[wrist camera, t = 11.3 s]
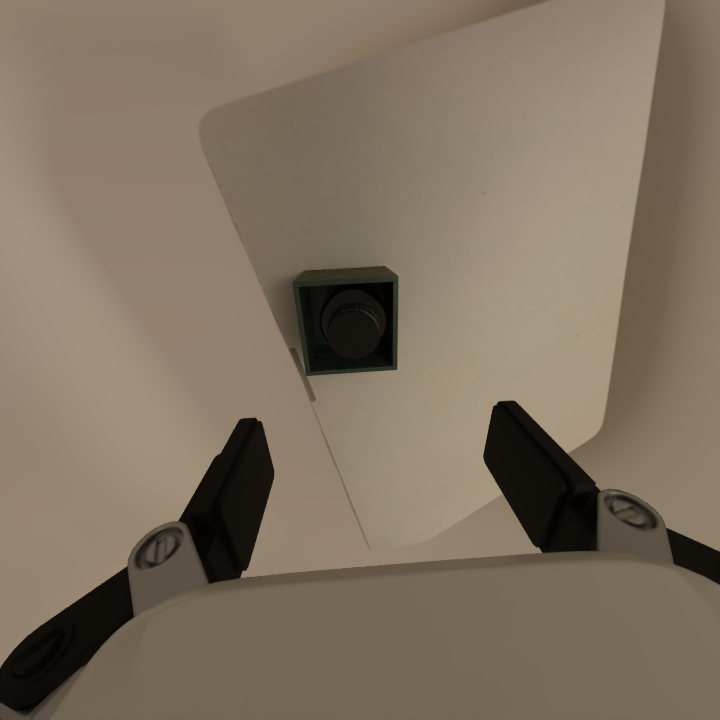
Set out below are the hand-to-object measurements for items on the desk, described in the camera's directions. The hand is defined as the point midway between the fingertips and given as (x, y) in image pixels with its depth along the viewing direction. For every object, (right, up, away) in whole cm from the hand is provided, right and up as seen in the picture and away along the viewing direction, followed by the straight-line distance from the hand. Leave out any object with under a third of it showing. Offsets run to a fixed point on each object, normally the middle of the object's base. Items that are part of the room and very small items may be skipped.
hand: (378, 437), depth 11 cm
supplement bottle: (-2, +10, +24) cm, 26 cm away
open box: (-2, +10, +24) cm, 26 cm away
